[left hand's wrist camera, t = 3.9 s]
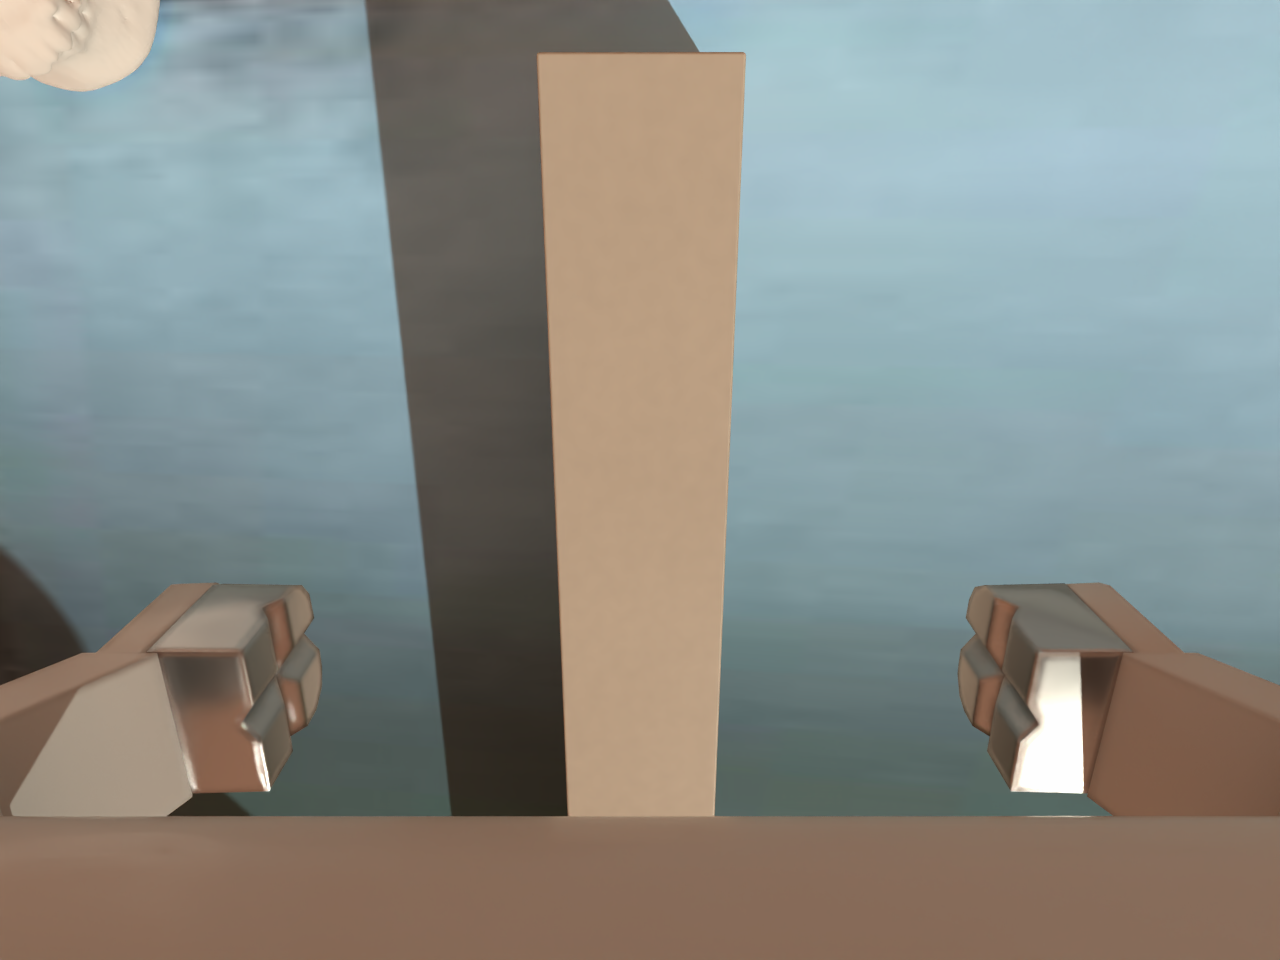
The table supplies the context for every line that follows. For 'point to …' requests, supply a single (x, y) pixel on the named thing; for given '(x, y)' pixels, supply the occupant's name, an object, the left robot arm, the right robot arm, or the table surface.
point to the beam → (641, 411)
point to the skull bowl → (75, 40)
